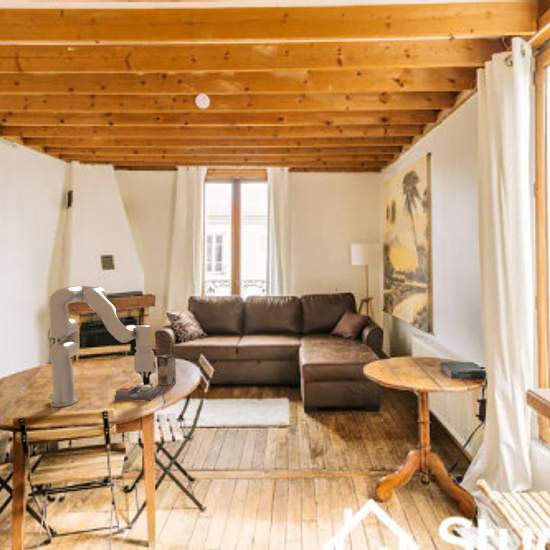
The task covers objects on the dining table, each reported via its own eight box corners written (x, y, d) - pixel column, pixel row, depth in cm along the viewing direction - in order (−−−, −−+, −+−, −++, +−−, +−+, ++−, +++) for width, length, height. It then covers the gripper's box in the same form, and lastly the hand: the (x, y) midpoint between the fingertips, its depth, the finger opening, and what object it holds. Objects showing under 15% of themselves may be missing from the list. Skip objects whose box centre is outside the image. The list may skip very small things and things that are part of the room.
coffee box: (157, 383, 229) (156, 356, 228) (166, 380, 234) (164, 353, 233) (168, 386, 223) (166, 357, 223) (177, 382, 229) (175, 355, 228)
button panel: (114, 399, 205) (114, 391, 204) (131, 389, 219) (130, 381, 219) (149, 401, 200) (149, 392, 200) (164, 391, 215) (163, 382, 215)
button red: (119, 393, 206) (118, 389, 206) (124, 390, 210) (124, 386, 210) (127, 393, 205) (127, 389, 205) (132, 390, 209) (132, 386, 209)
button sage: (139, 391, 203) (139, 388, 203) (144, 388, 208) (144, 385, 208) (148, 392, 202) (148, 388, 202) (153, 389, 207) (152, 385, 207)
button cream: (136, 388, 211) (136, 385, 211) (141, 386, 216) (141, 382, 216) (145, 389, 210) (144, 385, 210) (149, 386, 215) (149, 382, 215)
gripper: (127, 350, 202) (129, 386, 203) (153, 350, 199) (156, 386, 199) (135, 347, 209) (137, 381, 210) (161, 347, 206) (163, 382, 207)
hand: (146, 384), depth 205 cm, fingers closed
